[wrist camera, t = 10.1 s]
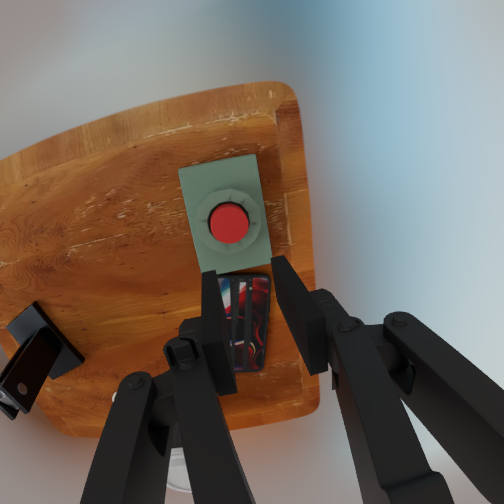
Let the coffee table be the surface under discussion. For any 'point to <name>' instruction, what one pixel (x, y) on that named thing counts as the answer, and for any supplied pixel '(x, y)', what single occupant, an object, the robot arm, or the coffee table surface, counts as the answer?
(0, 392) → the lever
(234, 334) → the smartphone
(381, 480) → the robot arm
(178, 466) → the coffee cup
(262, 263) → the button box
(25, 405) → the bracket
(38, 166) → the coffee table surface
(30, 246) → the coffee table surface
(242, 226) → the button
